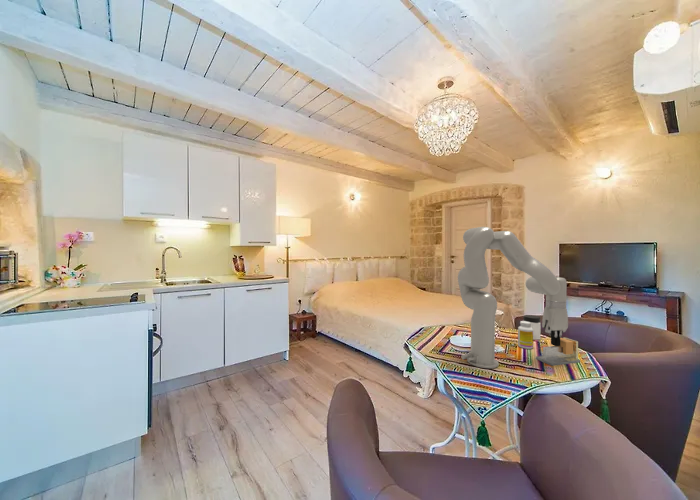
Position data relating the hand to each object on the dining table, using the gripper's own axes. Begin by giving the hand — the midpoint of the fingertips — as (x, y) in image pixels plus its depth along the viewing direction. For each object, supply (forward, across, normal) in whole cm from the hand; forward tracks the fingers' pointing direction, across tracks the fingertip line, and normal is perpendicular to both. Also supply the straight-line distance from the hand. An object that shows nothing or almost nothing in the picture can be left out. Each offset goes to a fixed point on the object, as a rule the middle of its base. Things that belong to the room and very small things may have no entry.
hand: (555, 345), depth 128 cm
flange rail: (+7, -1, 0) cm, 7 cm away
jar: (+7, -19, -30) cm, 36 cm away
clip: (+4, -5, 0) cm, 6 cm away
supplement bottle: (+7, -2, -18) cm, 20 cm away
